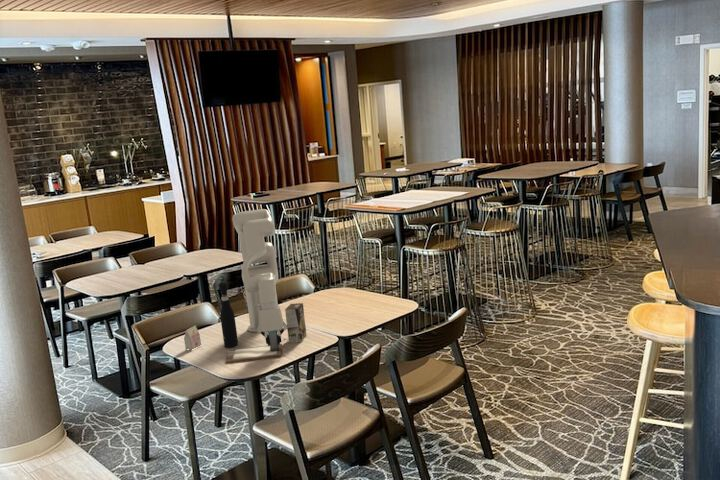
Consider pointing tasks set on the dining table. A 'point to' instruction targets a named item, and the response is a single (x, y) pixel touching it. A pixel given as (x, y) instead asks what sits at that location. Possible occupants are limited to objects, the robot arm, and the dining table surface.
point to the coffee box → (295, 322)
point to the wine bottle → (227, 319)
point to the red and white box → (192, 338)
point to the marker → (273, 340)
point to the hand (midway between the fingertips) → (274, 343)
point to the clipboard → (252, 354)
